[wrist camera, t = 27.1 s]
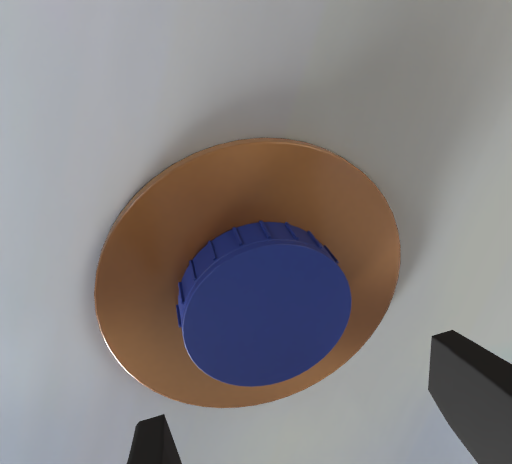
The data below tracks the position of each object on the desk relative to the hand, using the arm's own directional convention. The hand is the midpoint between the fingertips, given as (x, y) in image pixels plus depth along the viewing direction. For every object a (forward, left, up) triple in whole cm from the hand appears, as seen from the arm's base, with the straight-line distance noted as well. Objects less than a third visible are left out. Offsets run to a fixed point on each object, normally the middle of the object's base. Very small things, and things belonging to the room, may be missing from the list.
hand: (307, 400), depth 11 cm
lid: (0, 0, -4) cm, 4 cm away
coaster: (0, 0, -5) cm, 5 cm away
